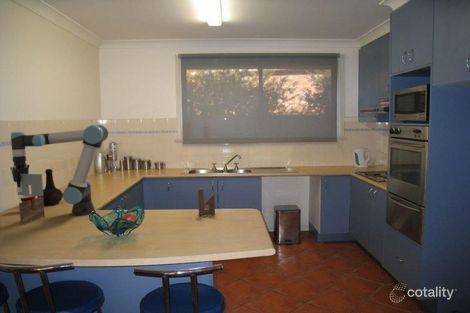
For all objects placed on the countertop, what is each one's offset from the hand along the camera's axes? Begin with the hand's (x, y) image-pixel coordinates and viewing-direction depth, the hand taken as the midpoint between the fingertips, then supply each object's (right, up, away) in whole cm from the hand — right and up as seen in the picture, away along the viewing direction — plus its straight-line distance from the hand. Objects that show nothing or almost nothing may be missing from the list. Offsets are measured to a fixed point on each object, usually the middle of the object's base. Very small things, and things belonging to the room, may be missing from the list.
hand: (22, 191), depth 234 cm
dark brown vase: (-6, -15, +48) cm, 50 cm away
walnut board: (+7, -20, +1) cm, 21 cm away
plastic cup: (-11, -17, +26) cm, 33 cm away
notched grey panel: (+6, -3, -1) cm, 7 cm away
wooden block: (+121, -16, +6) cm, 122 cm away
